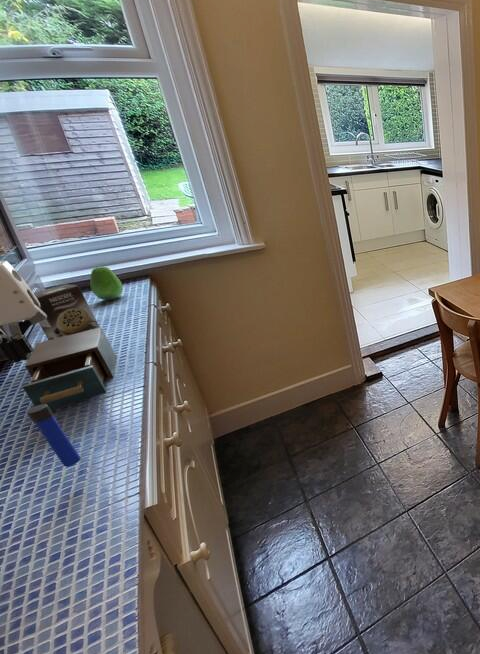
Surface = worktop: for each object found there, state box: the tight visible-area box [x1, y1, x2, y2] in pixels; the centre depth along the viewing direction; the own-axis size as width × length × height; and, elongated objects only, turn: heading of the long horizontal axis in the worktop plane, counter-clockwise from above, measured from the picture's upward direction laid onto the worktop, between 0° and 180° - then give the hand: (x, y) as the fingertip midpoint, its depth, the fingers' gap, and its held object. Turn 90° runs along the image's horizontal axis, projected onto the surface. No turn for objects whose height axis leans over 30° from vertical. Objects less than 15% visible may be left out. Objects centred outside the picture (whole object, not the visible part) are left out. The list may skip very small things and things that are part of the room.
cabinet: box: [24, 326, 117, 381], centre depth 98 cm, size 14×12×9 cm
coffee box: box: [33, 283, 101, 341], centre depth 112 cm, size 9×6×16 cm
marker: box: [26, 404, 82, 468], centre depth 71 cm, size 2×2×12 cm
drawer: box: [22, 351, 108, 411], centre depth 90 cm, size 17×10×7 cm, turn 40°
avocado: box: [89, 266, 123, 301], centre depth 143 cm, size 8×8×12 cm
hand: (23, 358), depth 73 cm, fingers closed
